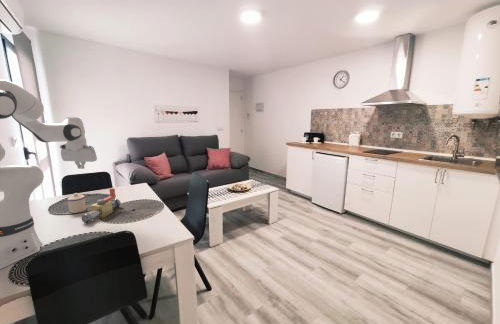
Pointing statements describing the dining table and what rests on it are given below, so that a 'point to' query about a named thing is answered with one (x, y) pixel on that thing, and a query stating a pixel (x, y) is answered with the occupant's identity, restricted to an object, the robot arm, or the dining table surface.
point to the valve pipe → (100, 210)
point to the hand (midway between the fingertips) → (81, 168)
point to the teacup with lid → (77, 203)
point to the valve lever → (112, 195)
